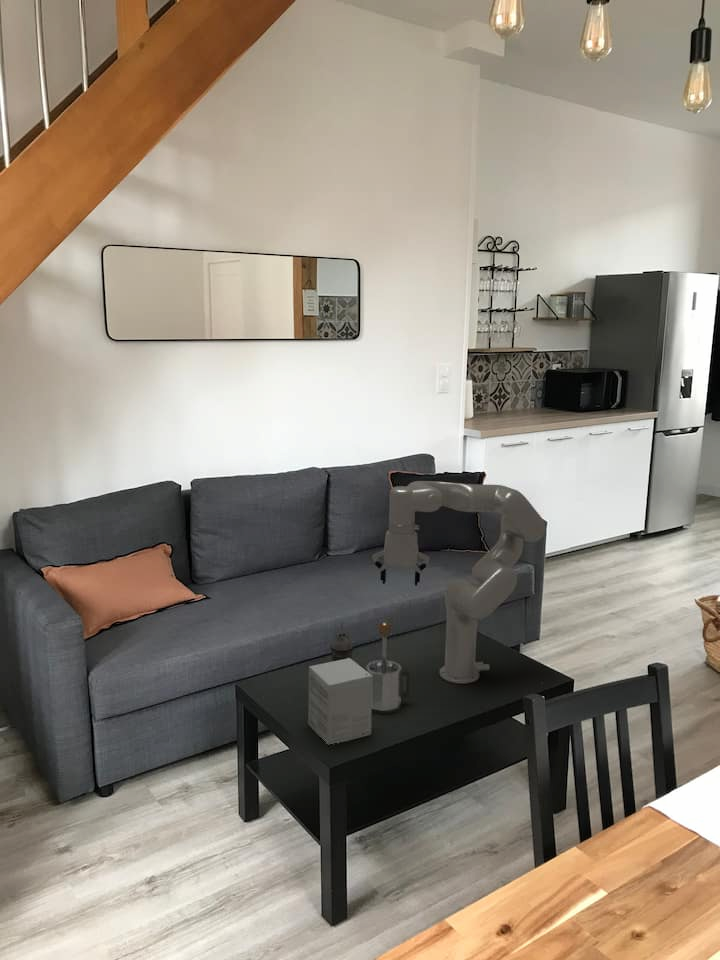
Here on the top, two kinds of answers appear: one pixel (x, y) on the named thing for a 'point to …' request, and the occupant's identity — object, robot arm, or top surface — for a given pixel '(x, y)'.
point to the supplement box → (340, 701)
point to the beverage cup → (341, 646)
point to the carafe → (388, 687)
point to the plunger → (384, 648)
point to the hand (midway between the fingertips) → (400, 583)
